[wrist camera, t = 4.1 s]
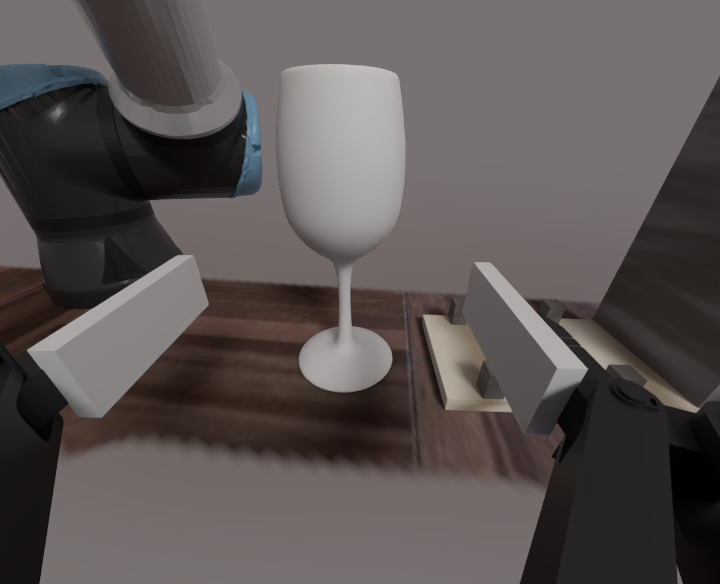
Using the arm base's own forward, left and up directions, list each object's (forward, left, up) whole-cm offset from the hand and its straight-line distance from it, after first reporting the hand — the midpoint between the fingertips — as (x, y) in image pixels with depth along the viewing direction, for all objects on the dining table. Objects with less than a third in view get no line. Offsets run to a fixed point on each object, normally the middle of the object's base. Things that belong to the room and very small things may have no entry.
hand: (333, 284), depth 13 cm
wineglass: (0, +8, -12) cm, 14 cm away
